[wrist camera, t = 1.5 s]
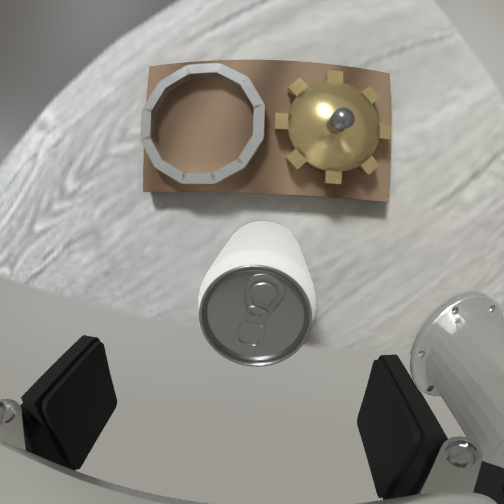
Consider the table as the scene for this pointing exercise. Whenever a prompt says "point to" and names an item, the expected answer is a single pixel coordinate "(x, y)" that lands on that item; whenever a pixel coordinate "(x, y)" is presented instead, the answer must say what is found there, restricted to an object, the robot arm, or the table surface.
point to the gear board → (241, 130)
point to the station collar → (178, 79)
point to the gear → (332, 127)
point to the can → (257, 297)
